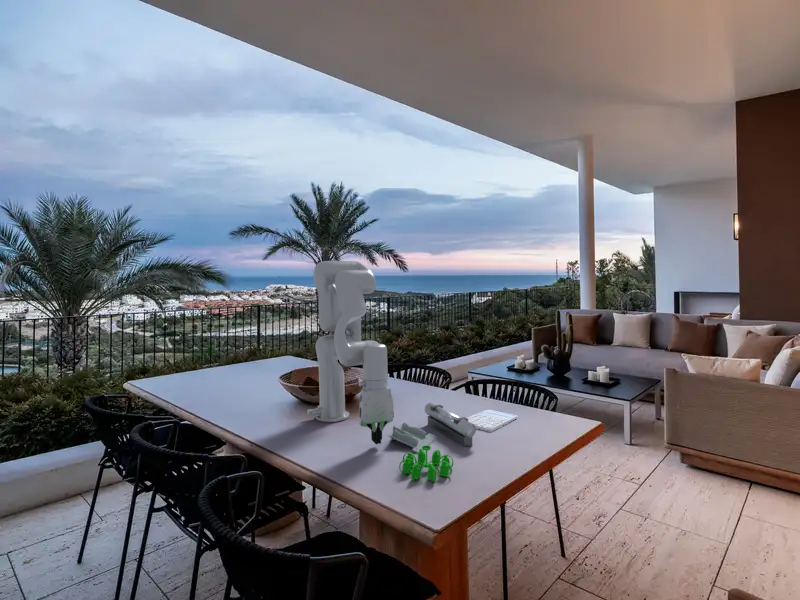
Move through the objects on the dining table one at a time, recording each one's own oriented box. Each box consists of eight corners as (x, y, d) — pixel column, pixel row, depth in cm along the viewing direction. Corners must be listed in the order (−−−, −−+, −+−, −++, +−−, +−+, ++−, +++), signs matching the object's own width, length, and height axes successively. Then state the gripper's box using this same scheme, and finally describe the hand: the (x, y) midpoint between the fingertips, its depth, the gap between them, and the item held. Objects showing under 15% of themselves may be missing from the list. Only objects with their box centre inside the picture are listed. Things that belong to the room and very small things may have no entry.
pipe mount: (464, 448, 131) (463, 424, 131) (424, 423, 155) (424, 403, 155) (476, 445, 133) (475, 422, 133) (435, 421, 157) (435, 401, 156)
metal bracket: (383, 431, 132) (403, 416, 146) (379, 448, 133) (398, 432, 147) (426, 450, 127) (441, 433, 141) (421, 467, 128) (437, 449, 141)
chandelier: (405, 488, 107) (404, 461, 107) (394, 463, 122) (393, 439, 121) (462, 482, 110) (462, 455, 110) (445, 458, 125) (444, 435, 124)
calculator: (458, 425, 154) (458, 420, 154) (487, 412, 168) (487, 407, 168) (490, 434, 145) (490, 428, 145) (518, 419, 159) (518, 414, 159)
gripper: (356, 389, 126) (357, 451, 127) (402, 383, 132) (403, 442, 133) (348, 384, 133) (350, 442, 134) (393, 379, 139) (394, 435, 140)
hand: (376, 442), depth 133 cm, fingers closed
